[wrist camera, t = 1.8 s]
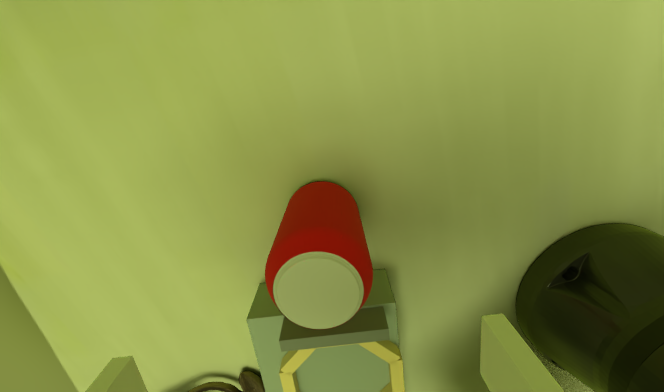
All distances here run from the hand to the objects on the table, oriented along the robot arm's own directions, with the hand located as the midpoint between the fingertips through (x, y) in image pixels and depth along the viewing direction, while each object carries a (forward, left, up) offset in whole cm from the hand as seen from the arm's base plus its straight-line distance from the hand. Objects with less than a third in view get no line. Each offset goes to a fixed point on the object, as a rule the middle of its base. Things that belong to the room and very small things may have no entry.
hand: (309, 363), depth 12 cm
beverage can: (0, 0, -17) cm, 17 cm away
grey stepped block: (+1, +15, -16) cm, 22 cm away
